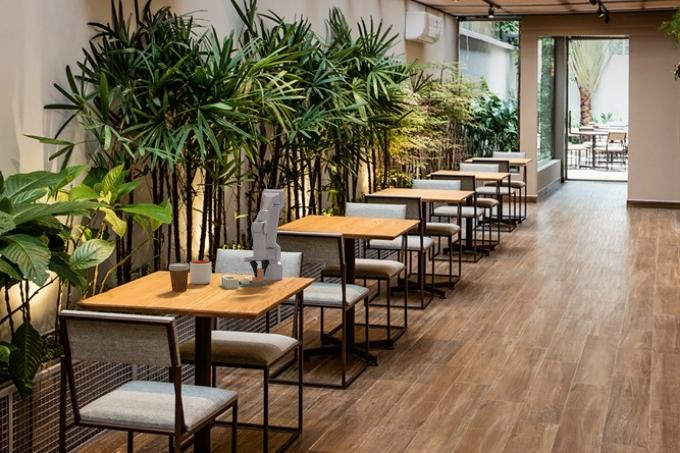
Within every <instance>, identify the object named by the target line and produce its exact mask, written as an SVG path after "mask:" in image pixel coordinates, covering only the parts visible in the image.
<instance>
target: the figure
mask: <svg viewBox="0 0 680 453" xmlns="http://www.w3.org/2000/svg"><path fill="white" fill-rule="evenodd" d="M251 280H252V283H259V282H265V280H264V269H262V267H260V268H258V267H257V277H254V276H252V277H251Z"/></svg>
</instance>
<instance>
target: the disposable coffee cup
mask: <svg viewBox="0 0 680 453" xmlns="http://www.w3.org/2000/svg"><path fill="white" fill-rule="evenodd" d="M168 270H169V275H170V283H171V284H170V285H171V291H172V292H173V291H174V293H183V292H187V289H188V288H187V287H188V280H189V279H188V278H189V273H190V263H188V262H187V263H185V262H175V263H170V264H169V266H168Z"/></svg>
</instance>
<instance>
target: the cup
mask: <svg viewBox="0 0 680 453" xmlns="http://www.w3.org/2000/svg"><path fill="white" fill-rule="evenodd" d="M189 267H190V268H189V282H190V283H191V284H193V285H196V284H205V285H208V284H209V285H210V284H211V282H212V262H211V261H209V260H193V261H192V260H191V261H190V262H189Z"/></svg>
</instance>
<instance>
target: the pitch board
mask: <svg viewBox="0 0 680 453" xmlns="http://www.w3.org/2000/svg"><path fill="white" fill-rule="evenodd" d="M217 285H218V286H220V287H221V288H223V289H225V290H231V289H232V290H233V289H245V288H258V287H269V285H268V284H267V281H264V282H259V283H252V279H251V280H250V283H244V284H242V283H241V280H239V278H234V275H227V276H224V275H223V276H221V283H217Z"/></svg>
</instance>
